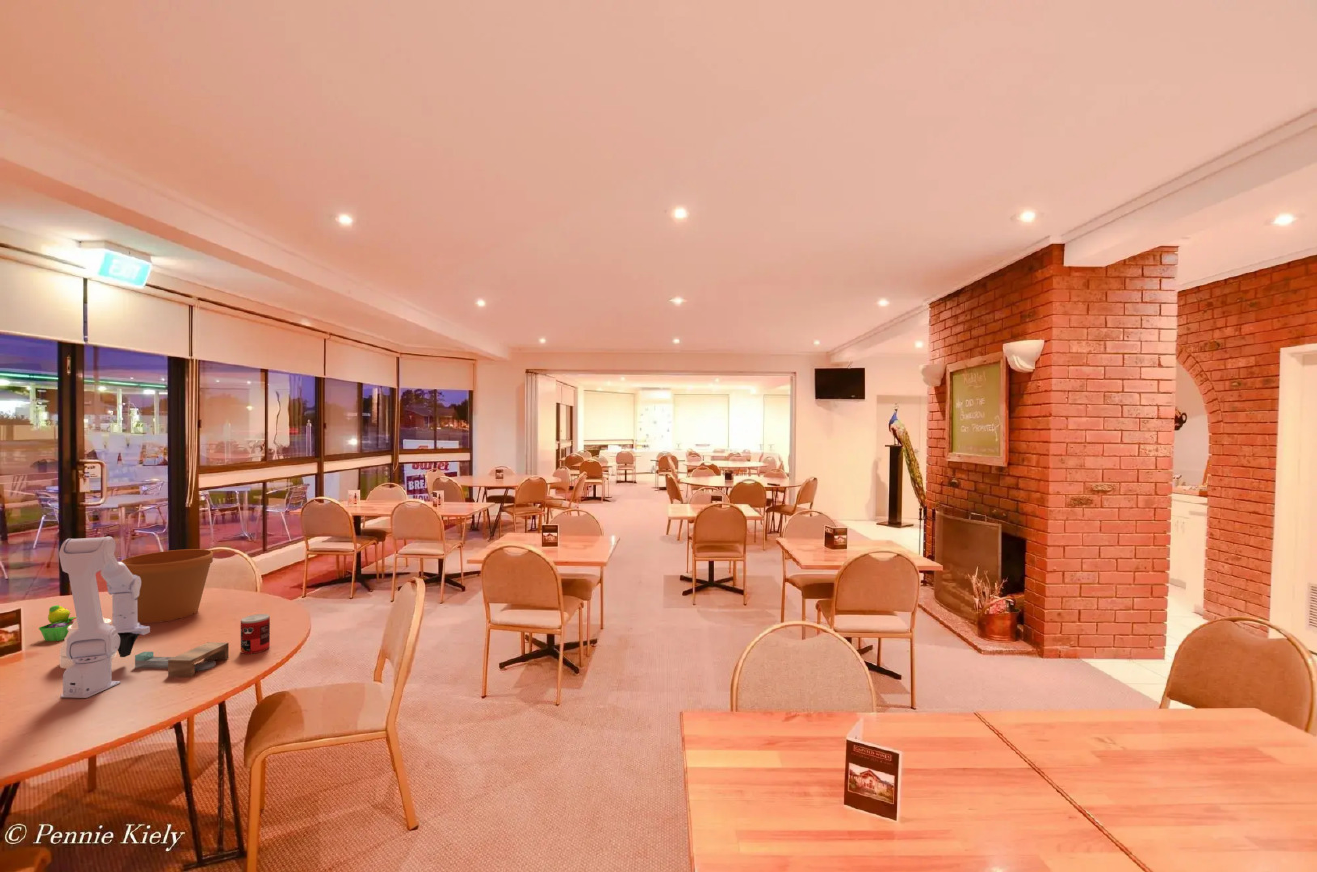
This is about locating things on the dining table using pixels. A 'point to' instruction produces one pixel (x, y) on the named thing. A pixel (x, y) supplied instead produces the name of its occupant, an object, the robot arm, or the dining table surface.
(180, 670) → the wooden bridge block
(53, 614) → the fruit basket
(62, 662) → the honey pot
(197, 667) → the slate coaster
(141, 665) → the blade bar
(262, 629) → the canned food
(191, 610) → the flowerpot
